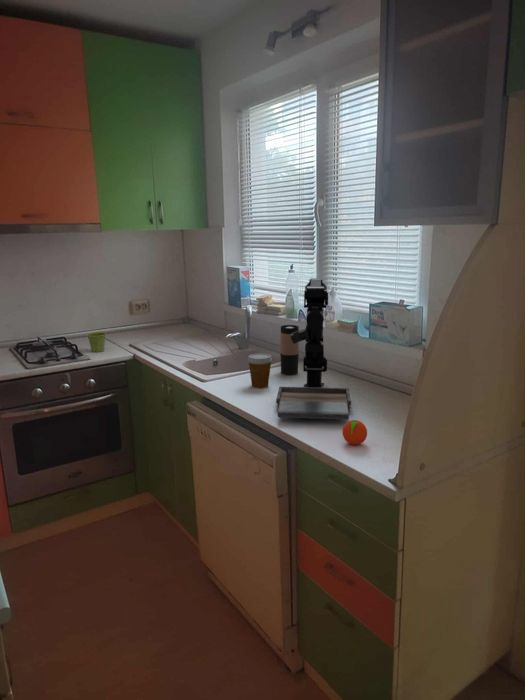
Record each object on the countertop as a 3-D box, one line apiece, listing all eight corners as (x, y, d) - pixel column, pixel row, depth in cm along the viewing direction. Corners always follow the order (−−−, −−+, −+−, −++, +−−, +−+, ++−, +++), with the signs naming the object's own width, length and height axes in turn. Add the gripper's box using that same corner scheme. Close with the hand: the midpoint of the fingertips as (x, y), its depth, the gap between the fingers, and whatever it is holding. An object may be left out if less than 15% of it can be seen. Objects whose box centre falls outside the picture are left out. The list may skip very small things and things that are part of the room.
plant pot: (92, 354, 255) (90, 336, 253) (85, 350, 262) (83, 334, 260) (110, 351, 261) (109, 334, 259) (103, 348, 268) (101, 331, 266)
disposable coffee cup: (244, 383, 204) (244, 354, 202) (267, 381, 207) (267, 352, 205) (252, 390, 196) (251, 360, 193) (275, 388, 199) (275, 357, 196)
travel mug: (277, 371, 221) (277, 325, 216) (292, 369, 224) (292, 324, 220) (286, 376, 214) (286, 328, 210) (301, 373, 218) (302, 327, 213)
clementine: (363, 452, 141) (364, 427, 140) (338, 448, 144) (339, 424, 142) (368, 441, 149) (369, 417, 147) (345, 437, 151) (345, 414, 150)
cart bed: (279, 397, 188) (279, 386, 187) (348, 399, 185) (348, 388, 184) (276, 410, 174) (276, 398, 173) (350, 412, 172) (351, 401, 171)
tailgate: (280, 399, 173) (277, 412, 161) (346, 401, 171) (348, 414, 159) (280, 404, 173) (277, 417, 162) (346, 406, 171) (348, 419, 159)
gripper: (293, 317, 190) (292, 359, 194) (290, 327, 172) (290, 372, 176) (323, 318, 189) (322, 359, 193) (324, 327, 171) (323, 373, 174)
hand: (314, 365), depth 184 cm, fingers closed
